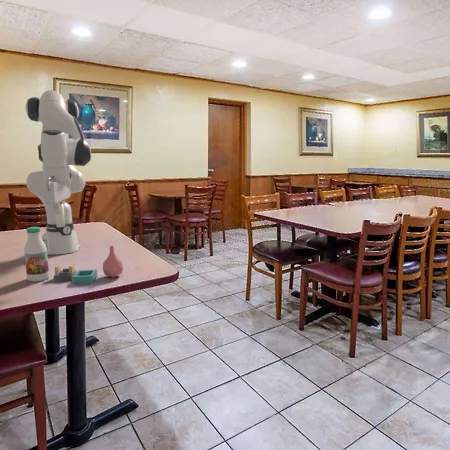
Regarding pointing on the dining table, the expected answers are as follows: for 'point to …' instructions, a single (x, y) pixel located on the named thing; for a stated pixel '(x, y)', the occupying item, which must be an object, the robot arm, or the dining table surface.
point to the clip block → (64, 273)
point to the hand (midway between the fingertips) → (59, 212)
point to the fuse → (60, 216)
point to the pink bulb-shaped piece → (112, 264)
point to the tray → (84, 277)
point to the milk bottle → (36, 256)
